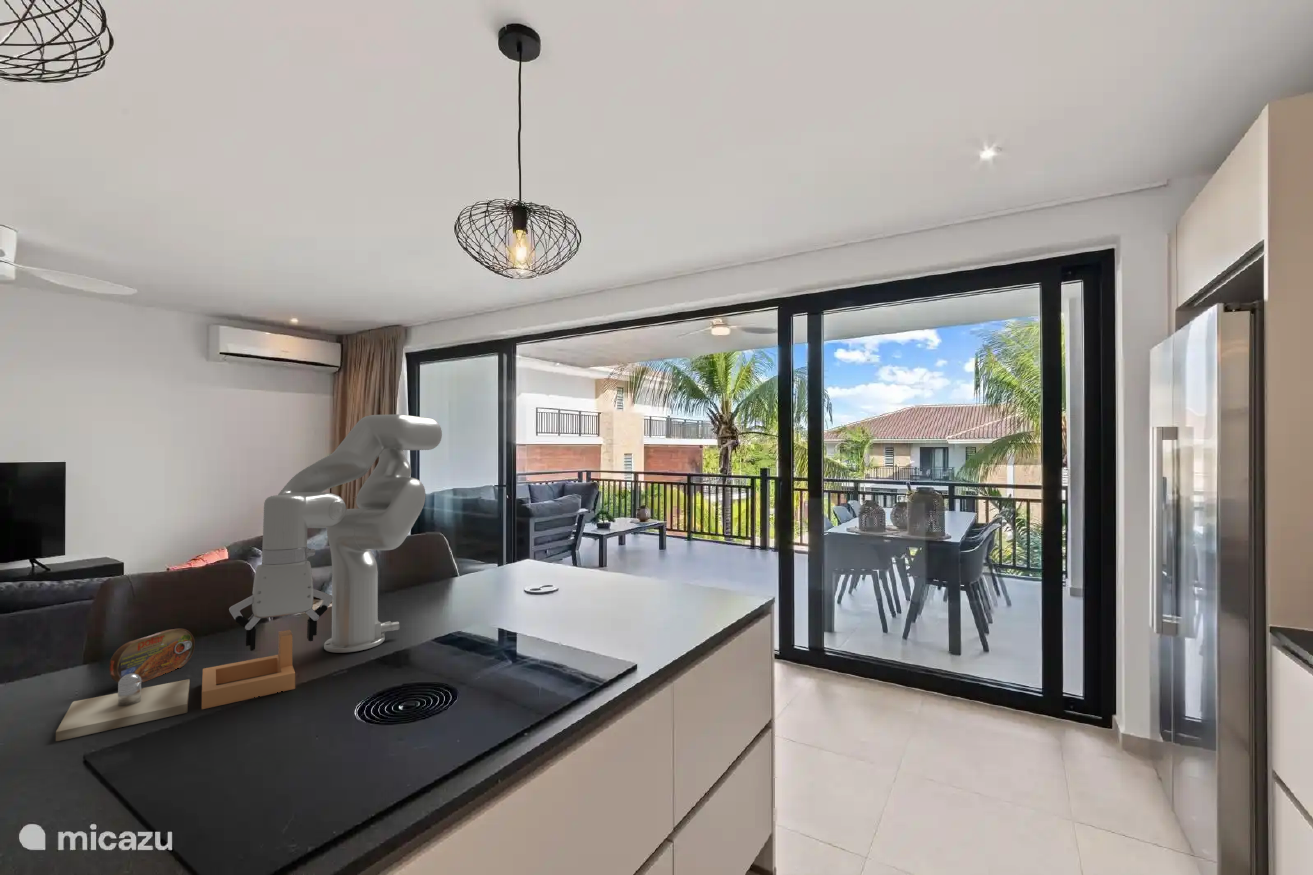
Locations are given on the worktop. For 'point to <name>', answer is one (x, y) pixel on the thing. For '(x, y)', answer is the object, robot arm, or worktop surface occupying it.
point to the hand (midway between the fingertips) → (281, 644)
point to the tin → (153, 655)
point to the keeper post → (129, 690)
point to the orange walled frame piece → (250, 676)
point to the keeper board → (123, 710)
